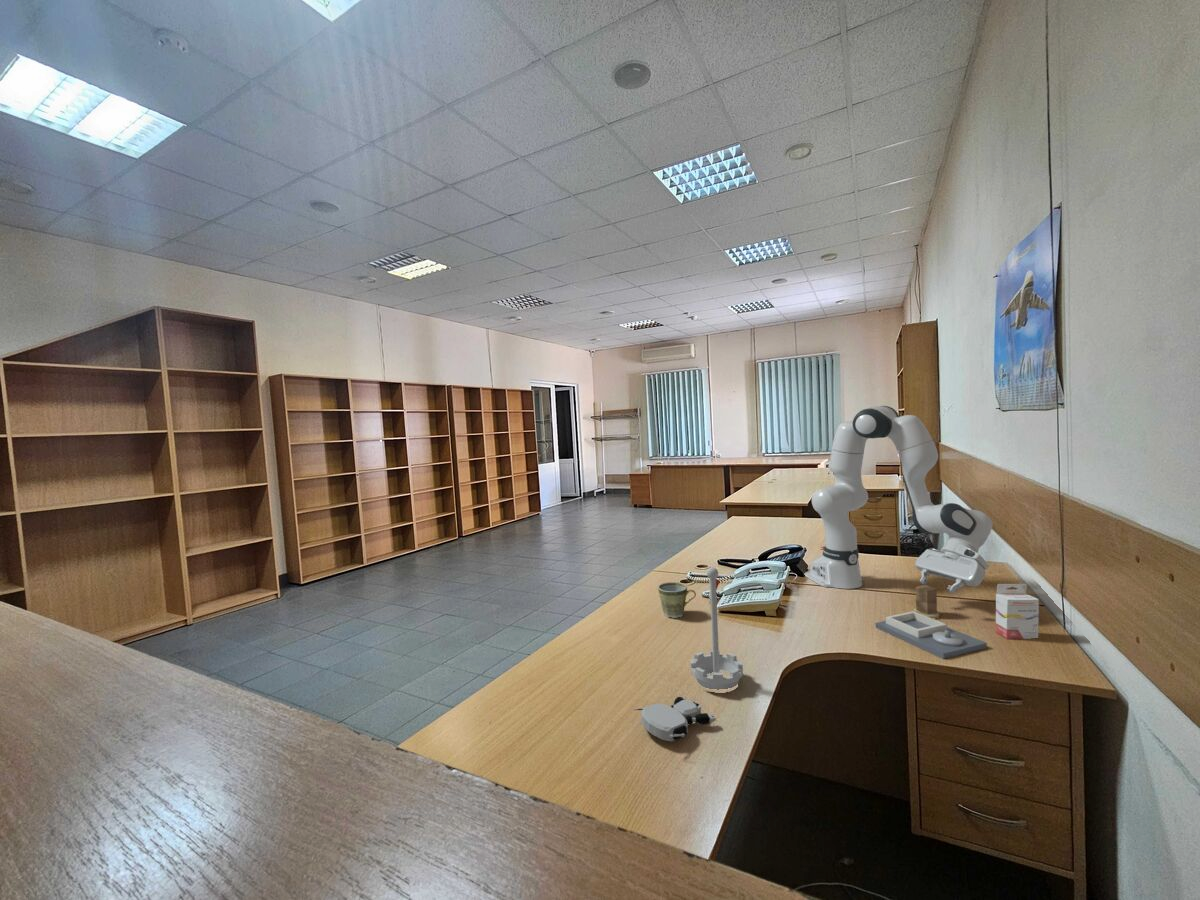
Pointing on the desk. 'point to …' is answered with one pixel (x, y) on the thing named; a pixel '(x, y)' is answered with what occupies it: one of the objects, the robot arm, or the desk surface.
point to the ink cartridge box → (1016, 612)
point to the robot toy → (673, 718)
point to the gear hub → (926, 601)
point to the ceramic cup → (673, 598)
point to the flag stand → (716, 652)
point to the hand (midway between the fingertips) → (935, 587)
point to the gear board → (930, 635)
